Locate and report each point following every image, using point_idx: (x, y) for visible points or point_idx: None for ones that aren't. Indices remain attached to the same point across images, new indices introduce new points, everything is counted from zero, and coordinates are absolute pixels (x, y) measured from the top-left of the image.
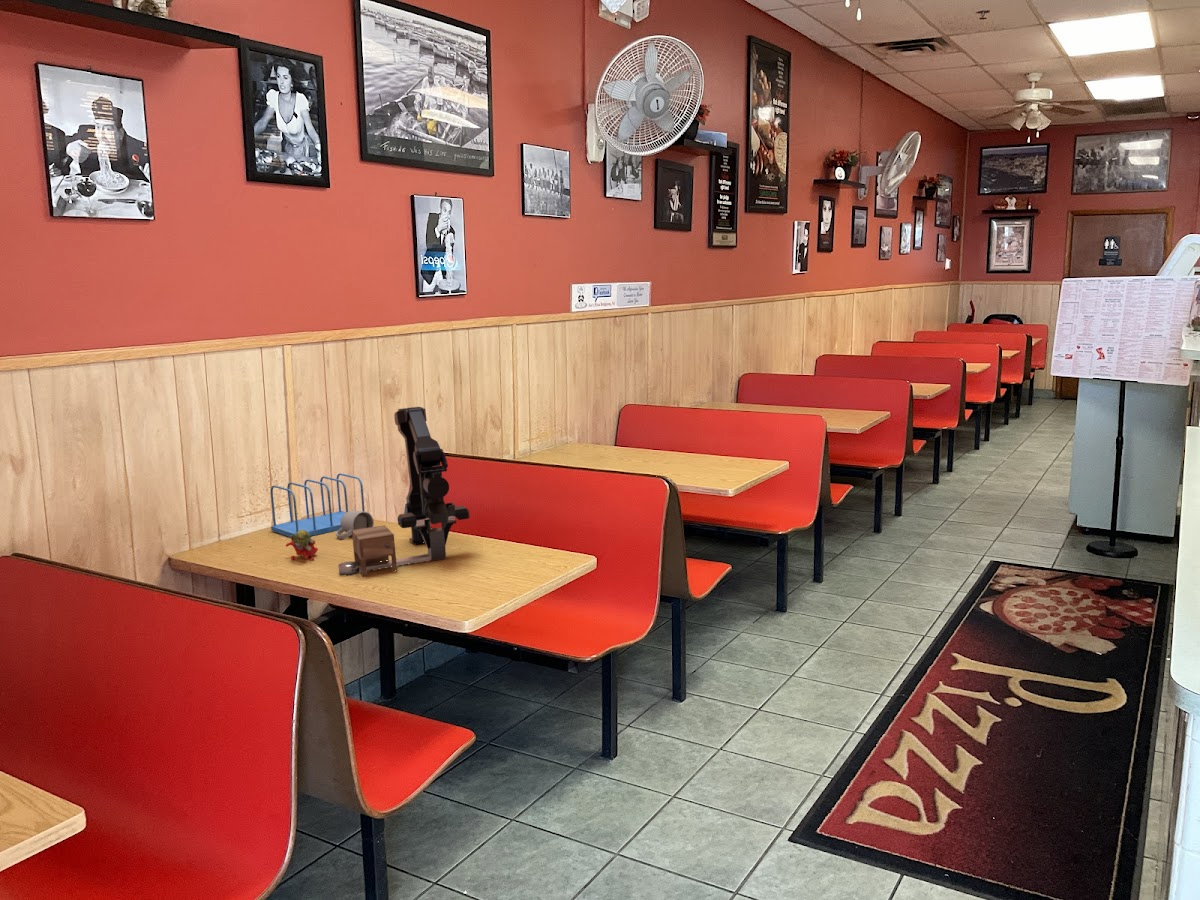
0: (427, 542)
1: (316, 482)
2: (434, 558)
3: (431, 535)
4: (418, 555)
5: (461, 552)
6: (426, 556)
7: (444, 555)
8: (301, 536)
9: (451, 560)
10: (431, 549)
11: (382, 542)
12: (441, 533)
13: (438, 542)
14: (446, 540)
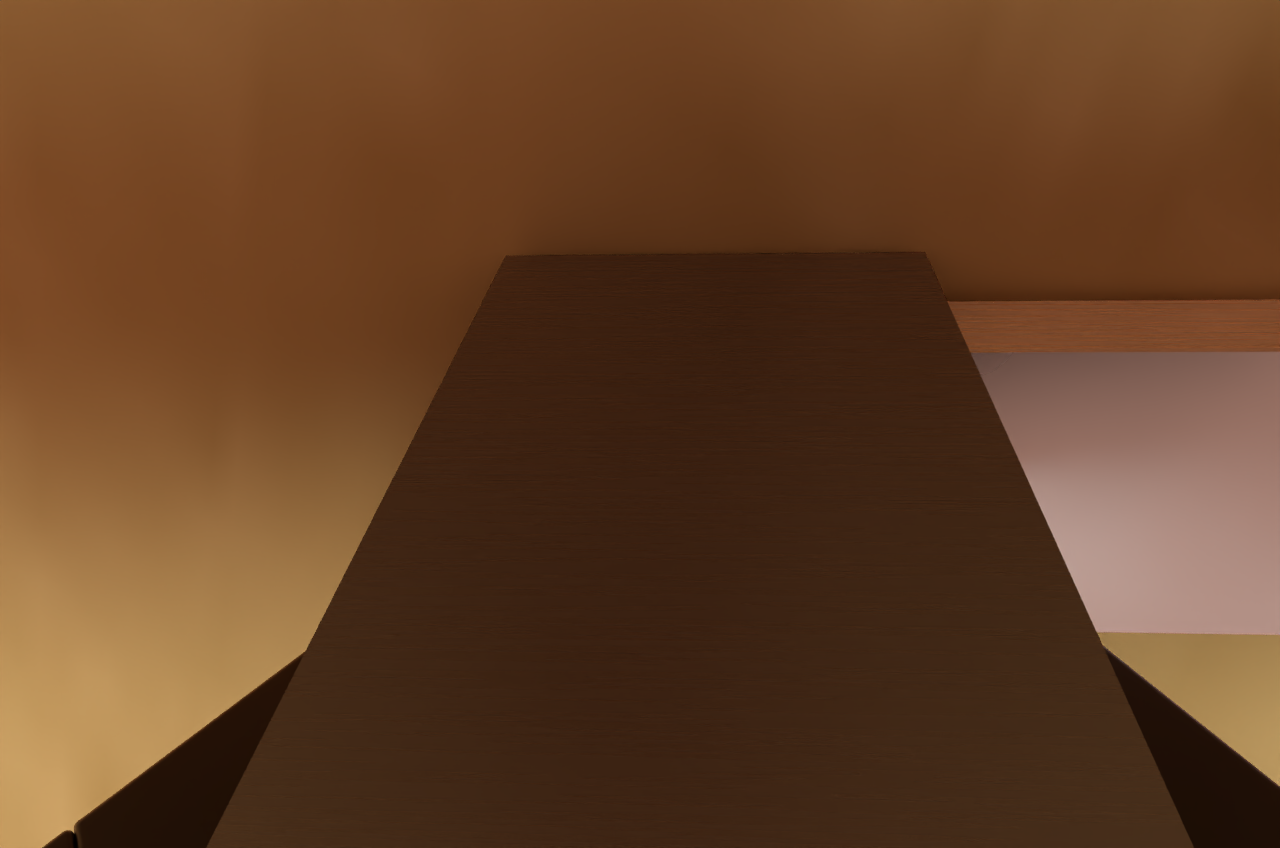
0: None
1: None
2: (850, 276)
3: (1059, 840)
4: (1211, 627)
5: (88, 600)
6: (1069, 411)
7: (536, 291)
8: None
9: (393, 39)
10: (972, 406)
11: None
12: (382, 836)
13: (663, 528)
14: (285, 669)
